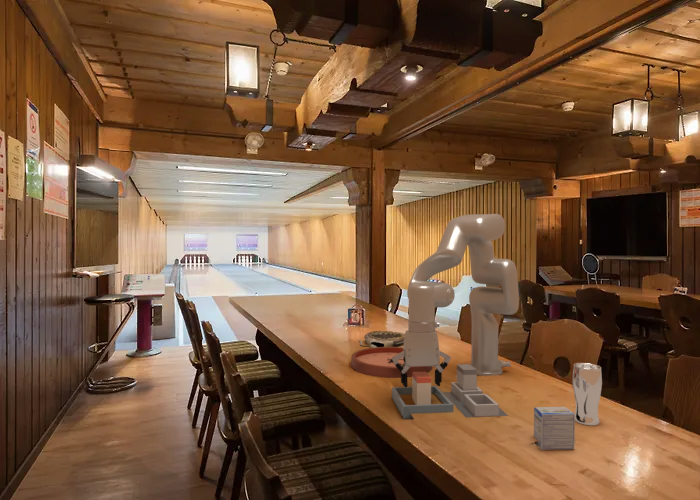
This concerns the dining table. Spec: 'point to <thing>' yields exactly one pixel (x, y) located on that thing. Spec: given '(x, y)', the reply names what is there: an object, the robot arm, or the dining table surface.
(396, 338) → the pie
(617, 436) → the dining table surface
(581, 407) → the beer glass
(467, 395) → the board
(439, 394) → the grey open square frame
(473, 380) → the block
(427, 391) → the block
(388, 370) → the clock
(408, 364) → the robot arm
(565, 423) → the medicine box
